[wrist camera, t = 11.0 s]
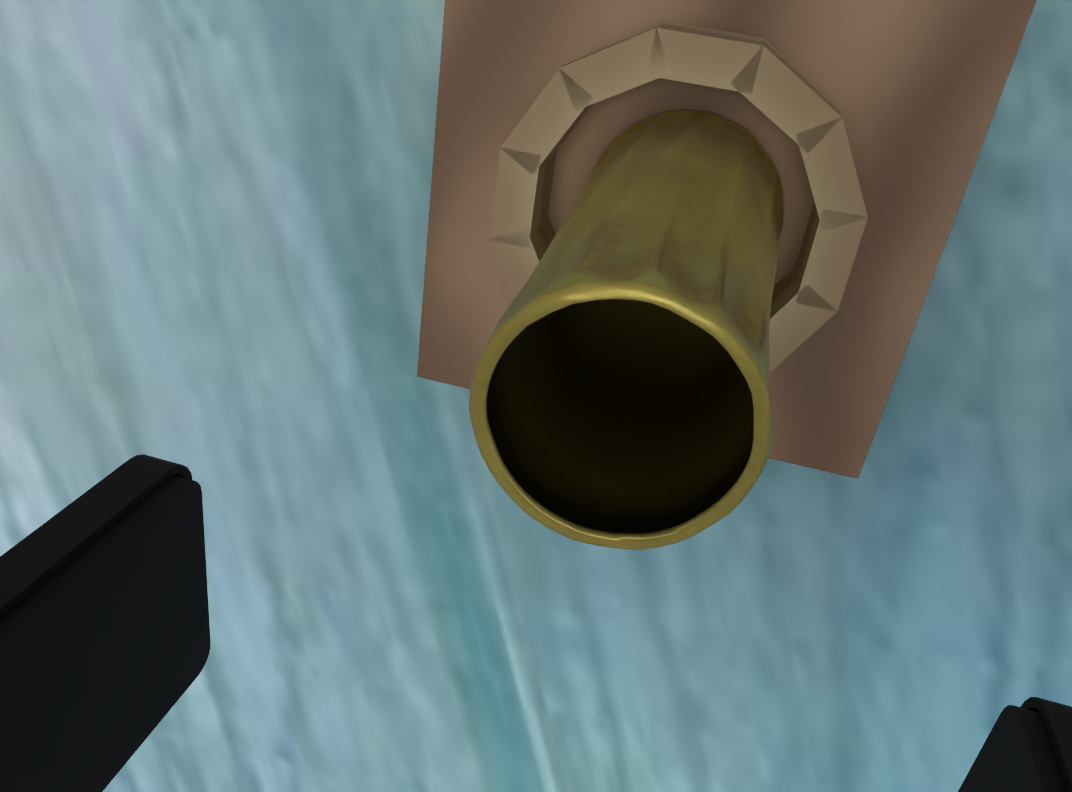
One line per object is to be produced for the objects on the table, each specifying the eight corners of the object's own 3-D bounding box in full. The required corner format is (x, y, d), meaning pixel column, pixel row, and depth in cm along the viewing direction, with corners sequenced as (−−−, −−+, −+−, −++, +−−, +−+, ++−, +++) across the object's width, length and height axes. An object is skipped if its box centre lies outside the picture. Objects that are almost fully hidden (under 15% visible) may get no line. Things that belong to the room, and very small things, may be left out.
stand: (1034, -38, 24) (1080, -36, 20) (854, 456, 31) (865, 519, 28) (470, -120, 26) (424, -132, 22) (430, 360, 33) (392, 407, 30)
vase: (825, 174, 26) (882, 381, 13) (713, 335, 29) (674, 626, 16) (647, 70, 26) (537, 181, 13) (553, 243, 29) (392, 466, 16)
